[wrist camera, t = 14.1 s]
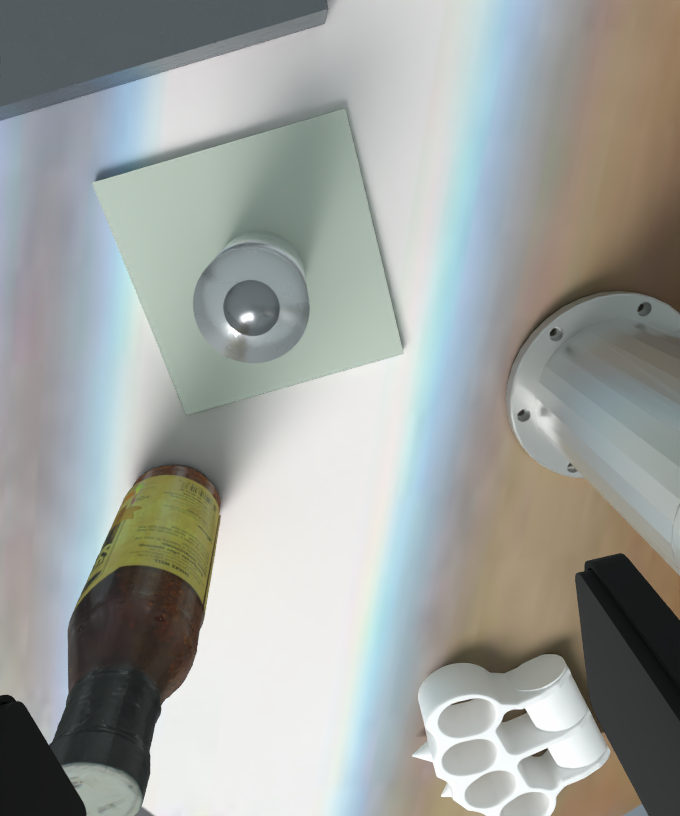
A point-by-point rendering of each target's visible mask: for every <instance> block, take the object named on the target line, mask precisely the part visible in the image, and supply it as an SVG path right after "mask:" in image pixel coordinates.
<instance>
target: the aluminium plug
mask: <svg viewBox="0 0 680 816" xmlns="http://www.w3.org/2000/svg"><path fill="white" fill-rule="evenodd" d="M193 311H194V317H195V320H196V324H197V326H198V328H199V330H200V332H201V334H202V335H203V337H204V338H205V340H206V341H207V342H208V343H209V344H210V345H211V346H212V347H213V348H214V349H215V350H216V351H218V352H219V353H220V354H222V355H224V356H226V357H228V358H230V359H232V360H235V361H239V362H244V363H264V362H268V361H272V360H274V359H277V358H279V357H281V356H283V355H284V354H286V353H287V352H289V351H290V350H291V349H292V348H293V347H294V346H295V345H296V344H297V343H298V341H299V340H300V339H301V337H302V335H303V334H304V331H305V329H306V327H307V323H308V319H309V313H310V304H309V296H308V290H307V284H306V278H305V272H304V267H303V263H302V260H301V257H300V255H299V253H298V252H297V250H296V249H295V247H294V246H293V245H292V244H291V243H290V242H289V241H288V240H286V239H285V238H283V237H282V236H280V235H278V234H276V233H273V232H270V231H264V230H254V231H249V232H245V233H243V234H240V235H238V236H237V237H235V238H234V239H232V240H231V241H230V242H229V243H228V244H227V245H226V246H225V247H224V249H223V250H222V251H221V252H220V253H219V254H218V255H217V256H216V257H215V259H214V260H213V261H212V262H211V263H210V264H209V265H208V266H207V267H206V269H205V270H204V271H203V273H202V274H201V276H200V278H199V280H198V282H197V284H196V287H195V291H194V296H193Z"/></svg>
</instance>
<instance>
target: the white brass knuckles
mask: <svg viewBox="0 0 680 816" xmlns="http://www.w3.org/2000/svg"><path fill="white" fill-rule="evenodd" d="M468 699H473V700H471V701H468V702H465V703H460V704H455V705H451V704H453V703H456V702H459V701H463V700H468ZM418 700H419V704H420V708H421V712H422V716H423V720H424V724H425V731H426V735H427V739H428V740H427V741H426V742H425V743H424V744H423V745H422V746H421V747H420V748H419V749H418V750H417V751H416V752H415V753H414V754H413V755H412V756H414V757H417V758H420V759H424V760H427V761H430V762H433V764H434V768H435V772H436V775H437V777H438V778H441V779H443V780H445V781H446V782H447V784H446V786H445V788H444V790H443V793H442V795H441V797H452V798H453V800H454V801H456V802H457V803H459V804H460V805H461V806H463V807H464V808H466V809H467V810H469V811H476V812H480V813H482V814H484V815H486V816H550V815H551V814H552V812H553V811H554V809H555V806H556V796H557V795H558V793H559V792H560V791H561V790H562V789H563V788H564V787H565V786H567V785H569V784H571V783H574V782H576V781H578V780H581V779H583V778H585V777H587V776H588V775H590V774H591V773H593V772H594V771H596V770H597V769H599V768H600V767H601V766H602V765H603V764H604V763H605V762H606V761H607V759H608V757H609V754H610V750H609V748H608V746H607V744H606V742H605V740H604V738H603V736H602V734H601V732H600V730H599V728H598V726H597V724H596V723H595V721H594V719H593V717H592V715H591V712H590V710H589V708H588V706H587V705H586V703H585V701H584V699H583V697H582V695H581V693H580V691H579V689H578V687H577V685H576V683H575V681H574V679H573V677H572V675H571V672H570V670H569V668H568V666H567V665H566V663H565V661H564V659H563V658H562V657H561V656H559V655H556V654H544V655H540V656H538V657H536V658H534V659H532V660H529V661H527V662H525V663H523V664H521V665H520V666H518V667H517V668H515V669H513V670H511V671H508V672H506V673H490V672H488V671H487V670H486V669H484V668H483V667H481V666H478V665H475V664H471V663H455V664H450V665H447V666H444V667H441V668H439V669H437V670H436V671H434V672H433V673H431V674H430V675H429V676H428V677H427V678H426V679H425V680H424V682H423V683H422V685H421V687H420V689H419V693H418ZM524 708H525V709H526V711H527V713H525V714H523V715H521V716H519V717H516V718H514V719H512V720H510V721H507V722H501V721H502V719H503V716H504V714H505V713H506V712H508V711H510V710H513V709H524ZM546 748H548V750H547V751H546V752H545V753H544V754H543V755H542V756H539V757H533V756H530V755H533V754H535V753H537V752H539V751H542V750H544V749H546Z"/></svg>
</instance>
